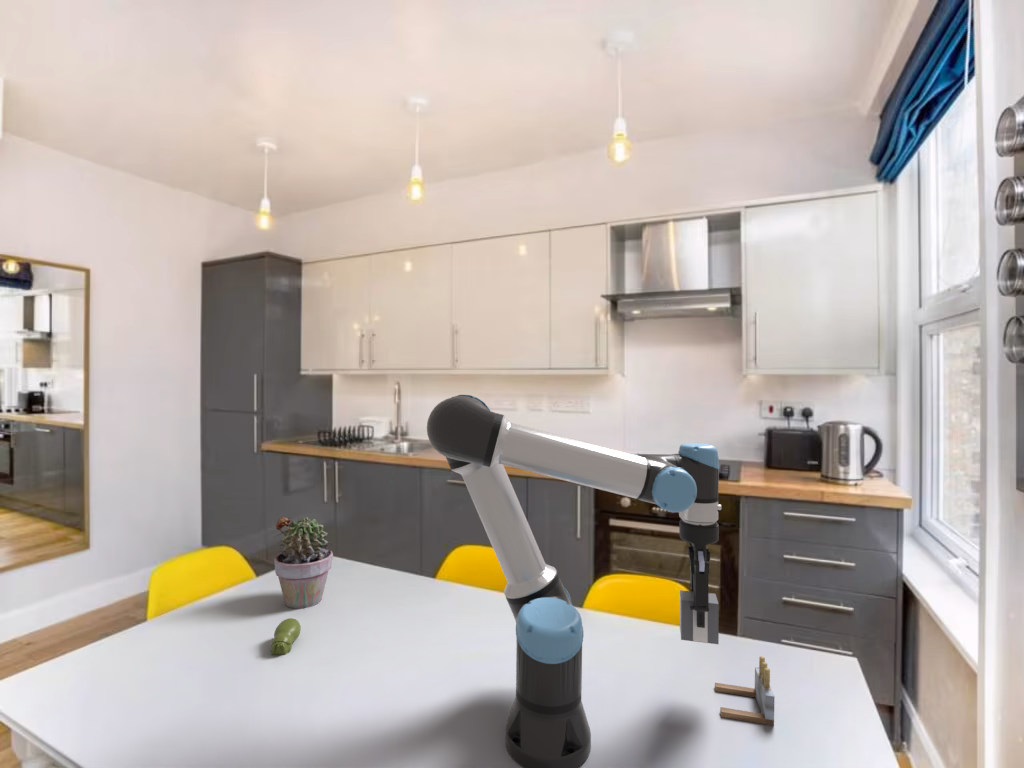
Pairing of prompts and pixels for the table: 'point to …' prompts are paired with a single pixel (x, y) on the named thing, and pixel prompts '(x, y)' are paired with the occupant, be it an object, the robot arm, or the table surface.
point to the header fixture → (760, 693)
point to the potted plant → (303, 562)
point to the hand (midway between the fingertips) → (698, 634)
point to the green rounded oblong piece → (285, 636)
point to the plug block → (687, 617)
